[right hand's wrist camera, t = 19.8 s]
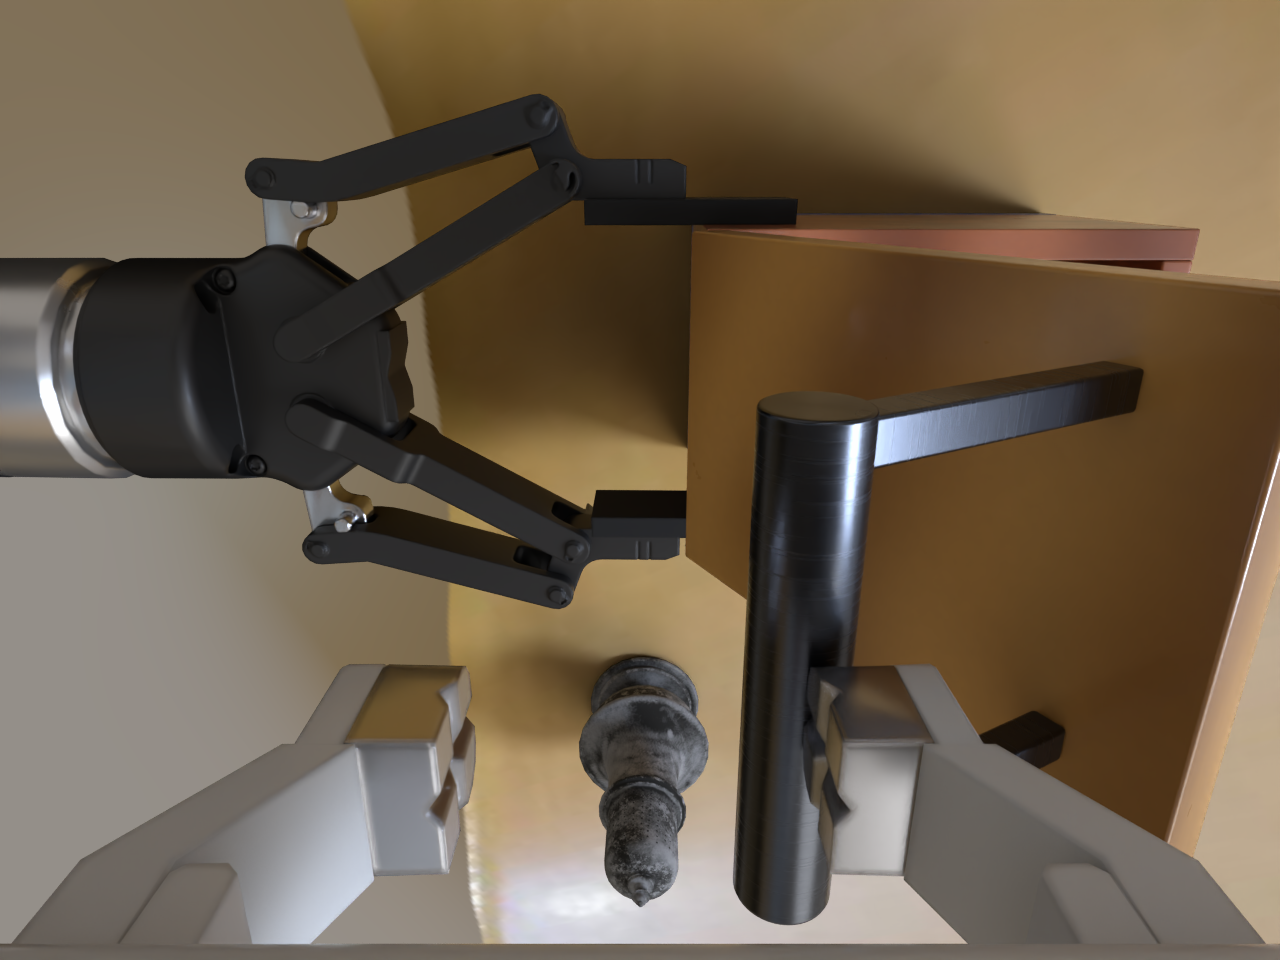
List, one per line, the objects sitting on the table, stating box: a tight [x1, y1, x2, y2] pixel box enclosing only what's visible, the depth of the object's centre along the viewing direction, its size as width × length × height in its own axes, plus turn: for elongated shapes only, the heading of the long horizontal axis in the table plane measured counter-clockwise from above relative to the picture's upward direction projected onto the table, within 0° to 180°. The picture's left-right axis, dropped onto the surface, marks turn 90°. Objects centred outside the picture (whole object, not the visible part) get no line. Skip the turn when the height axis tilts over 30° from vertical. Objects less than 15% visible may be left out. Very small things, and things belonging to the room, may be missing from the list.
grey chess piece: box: [579, 657, 708, 907], centre depth 35 cm, size 6×6×12 cm
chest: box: [687, 213, 1200, 449], centre depth 30 cm, size 14×10×10 cm
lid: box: [686, 230, 1280, 925], centre depth 17 cm, size 15×10×8 cm
